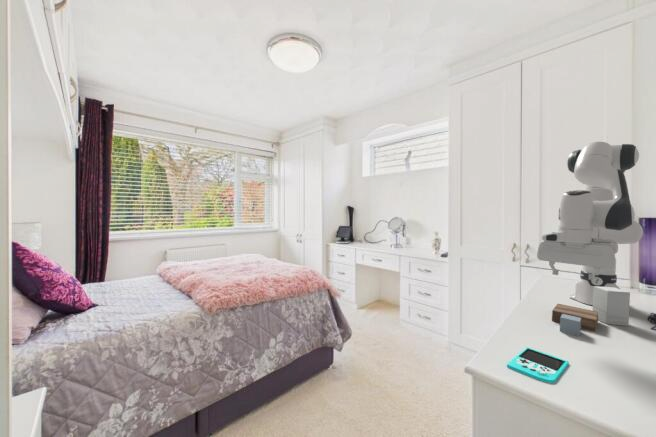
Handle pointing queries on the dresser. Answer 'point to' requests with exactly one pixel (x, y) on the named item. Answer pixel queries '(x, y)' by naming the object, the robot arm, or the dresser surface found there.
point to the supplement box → (611, 305)
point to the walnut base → (577, 315)
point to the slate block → (570, 324)
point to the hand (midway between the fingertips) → (572, 277)
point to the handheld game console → (538, 365)
